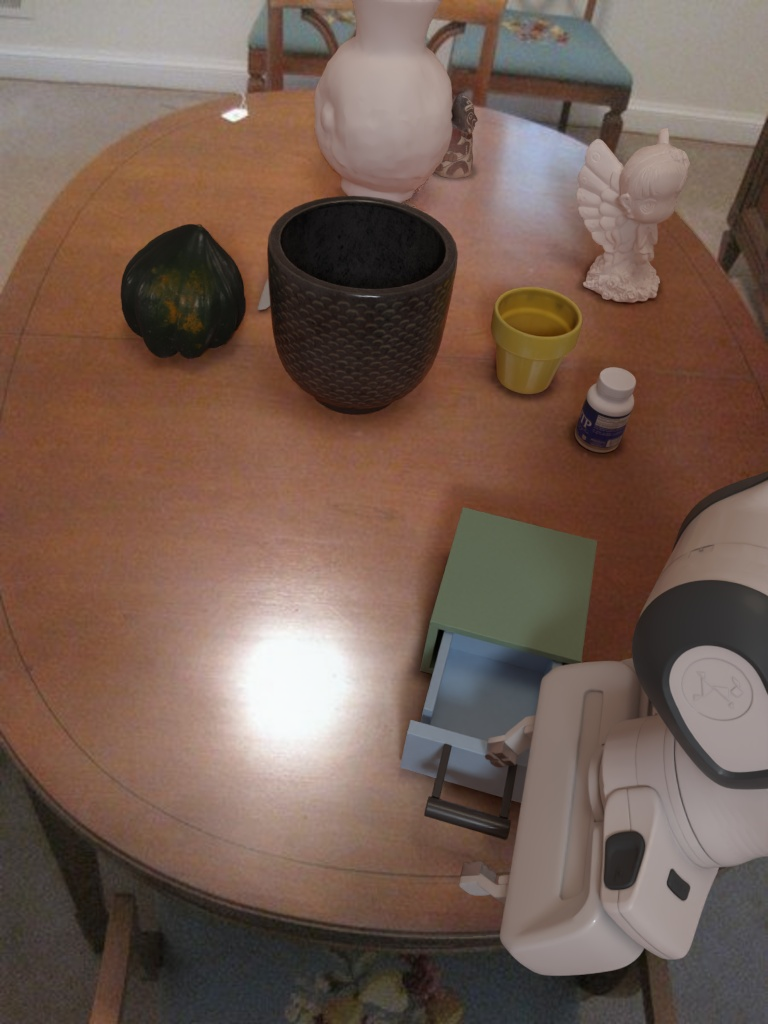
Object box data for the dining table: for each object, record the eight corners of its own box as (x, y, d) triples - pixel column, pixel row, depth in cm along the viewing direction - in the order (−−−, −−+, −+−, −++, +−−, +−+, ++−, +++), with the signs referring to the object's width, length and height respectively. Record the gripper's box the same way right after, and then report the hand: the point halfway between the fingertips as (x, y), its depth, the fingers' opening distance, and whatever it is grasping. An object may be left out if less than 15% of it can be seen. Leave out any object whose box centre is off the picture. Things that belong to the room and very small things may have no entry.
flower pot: (464, 379, 105) (477, 311, 98) (508, 341, 111) (523, 275, 104) (537, 417, 101) (556, 349, 94) (578, 376, 107) (599, 310, 100)
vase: (358, 237, 125) (373, 10, 103) (293, 171, 137) (294, -45, 115) (464, 213, 133) (499, -3, 111) (393, 153, 145) (413, -54, 123)
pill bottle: (571, 421, 101) (590, 360, 95) (615, 425, 102) (637, 364, 95) (576, 452, 98) (597, 391, 91) (622, 456, 98) (646, 395, 91)
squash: (83, 329, 97) (164, 244, 89) (112, 262, 107) (186, 181, 100) (186, 402, 104) (268, 328, 97) (203, 332, 115) (279, 261, 107)
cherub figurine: (593, 310, 118) (636, 168, 103) (552, 261, 125) (587, 123, 111) (675, 299, 121) (728, 160, 106) (630, 252, 129) (674, 117, 114)
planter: (307, 460, 93) (310, 311, 79) (246, 355, 105) (240, 208, 91) (465, 419, 100) (494, 275, 86) (392, 324, 112) (407, 183, 98)
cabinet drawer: (528, 879, 64) (547, 846, 59) (380, 835, 65) (387, 799, 61) (559, 677, 76) (576, 637, 72) (434, 643, 77) (443, 601, 73)
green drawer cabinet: (559, 709, 75) (581, 661, 69) (419, 670, 76) (430, 621, 71) (577, 591, 84) (597, 540, 79) (451, 558, 86) (462, 506, 80)
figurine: (462, 182, 140) (473, 106, 131) (422, 170, 141) (431, 95, 132) (478, 165, 144) (490, 91, 135) (439, 154, 146) (448, 80, 137)
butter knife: (307, 218, 127) (287, 215, 127) (272, 310, 111) (249, 306, 111) (307, 220, 127) (287, 218, 127) (272, 312, 111) (250, 309, 111)
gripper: (646, 624, 58) (480, 665, 66) (625, 940, 44) (418, 941, 52) (691, 677, 60) (525, 711, 69) (684, 990, 47) (478, 984, 55)
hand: (478, 813), depth 60 cm, fingers open, 8 cm apart
